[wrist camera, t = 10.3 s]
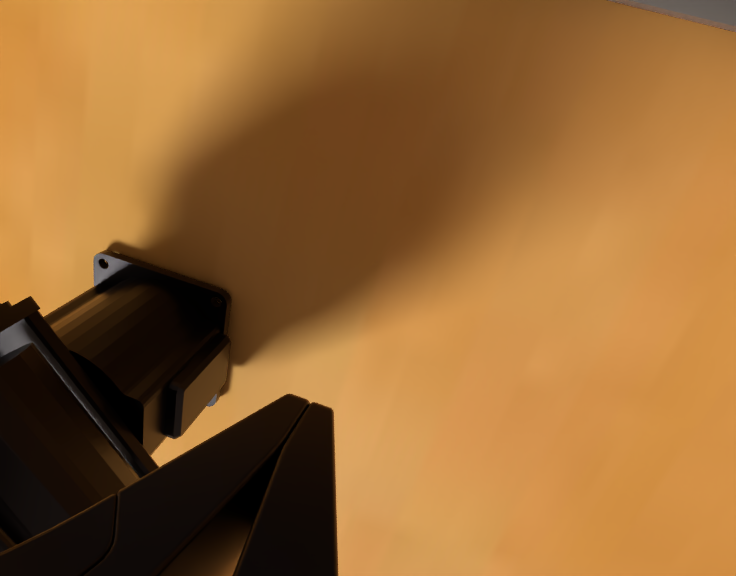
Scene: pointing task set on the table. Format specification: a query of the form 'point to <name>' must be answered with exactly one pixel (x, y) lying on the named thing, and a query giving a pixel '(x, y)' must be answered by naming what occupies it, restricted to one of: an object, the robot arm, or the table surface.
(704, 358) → the table surface
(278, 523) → the robot arm
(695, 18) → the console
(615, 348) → the table surface
